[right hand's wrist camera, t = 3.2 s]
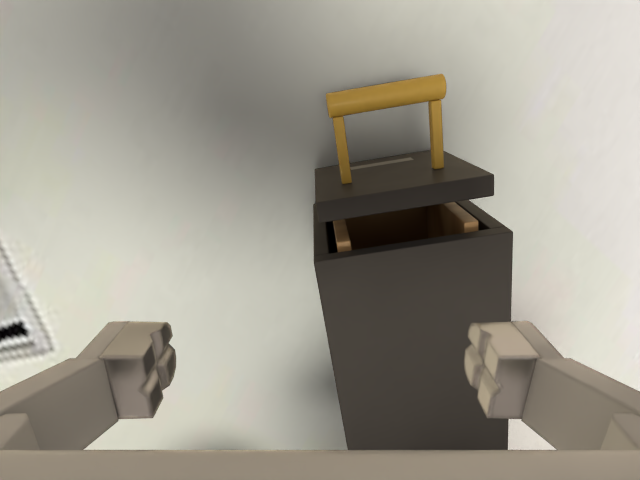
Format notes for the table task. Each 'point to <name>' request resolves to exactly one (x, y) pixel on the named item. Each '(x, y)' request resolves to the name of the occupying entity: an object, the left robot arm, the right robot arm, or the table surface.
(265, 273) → the table surface
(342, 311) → the cabinet
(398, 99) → the drawer
